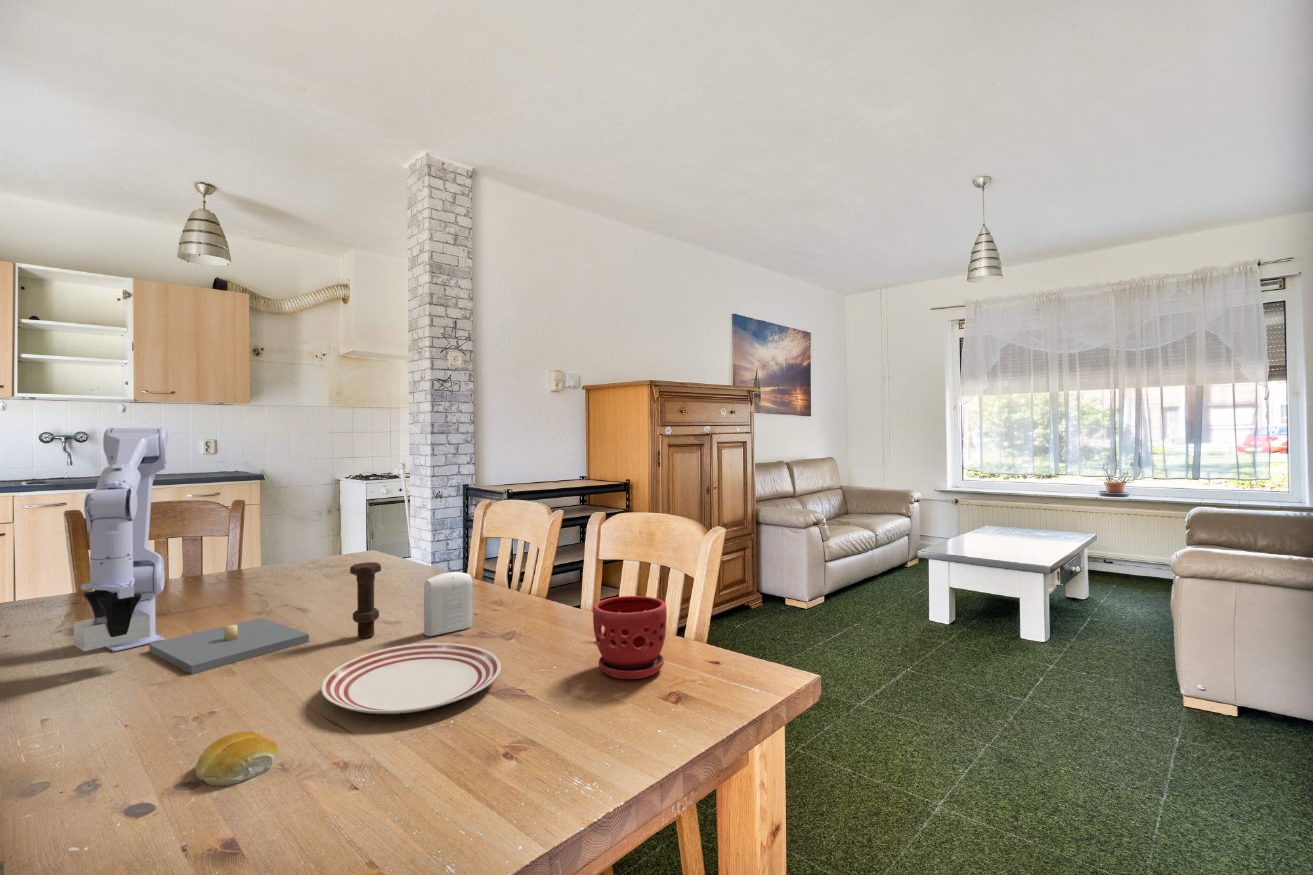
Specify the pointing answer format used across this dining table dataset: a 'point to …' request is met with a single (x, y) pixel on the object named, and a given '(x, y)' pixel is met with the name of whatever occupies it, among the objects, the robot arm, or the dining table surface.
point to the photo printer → (447, 603)
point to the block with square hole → (97, 633)
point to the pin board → (227, 644)
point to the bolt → (365, 598)
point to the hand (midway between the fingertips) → (112, 632)
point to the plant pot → (630, 635)
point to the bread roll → (236, 758)
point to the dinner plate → (410, 678)
